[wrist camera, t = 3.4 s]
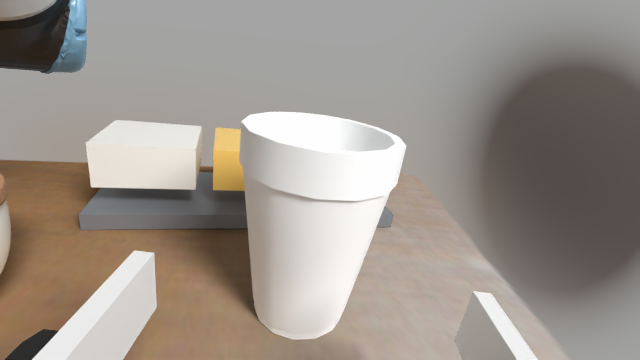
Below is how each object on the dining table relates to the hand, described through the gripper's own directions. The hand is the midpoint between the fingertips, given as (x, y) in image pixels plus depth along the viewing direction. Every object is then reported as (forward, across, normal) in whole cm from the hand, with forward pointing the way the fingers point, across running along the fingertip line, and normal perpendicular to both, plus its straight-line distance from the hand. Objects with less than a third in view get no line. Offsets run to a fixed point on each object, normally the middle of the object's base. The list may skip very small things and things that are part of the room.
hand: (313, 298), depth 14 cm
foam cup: (+8, 0, -8) cm, 11 cm away
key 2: (+21, -16, -4) cm, 27 cm away
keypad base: (+23, -6, -8) cm, 25 cm away
